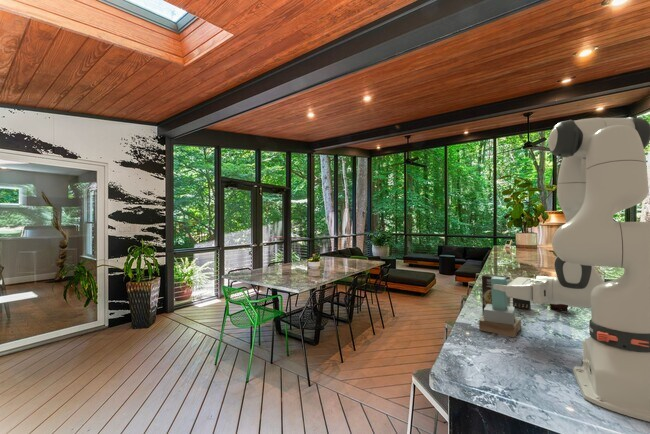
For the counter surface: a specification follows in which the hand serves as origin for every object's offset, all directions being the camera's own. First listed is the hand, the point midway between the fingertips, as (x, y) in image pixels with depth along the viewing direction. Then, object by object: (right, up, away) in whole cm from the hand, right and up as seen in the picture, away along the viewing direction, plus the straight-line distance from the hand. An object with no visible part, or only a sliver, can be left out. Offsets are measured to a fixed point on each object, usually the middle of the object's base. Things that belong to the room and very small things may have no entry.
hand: (497, 284), depth 110 cm
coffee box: (+8, -16, +15) cm, 23 cm away
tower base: (0, -17, -1) cm, 17 cm away
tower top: (0, -13, -1) cm, 13 cm away
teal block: (+1, -9, -1) cm, 9 cm away
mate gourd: (+38, -16, +20) cm, 45 cm away
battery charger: (+24, -16, +22) cm, 36 cm away
